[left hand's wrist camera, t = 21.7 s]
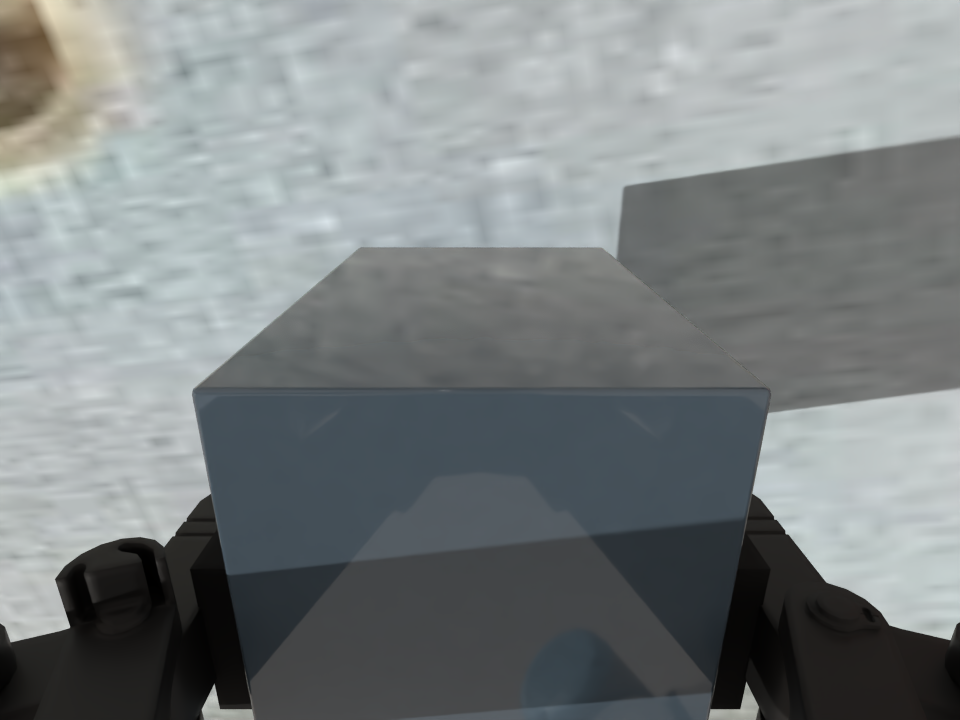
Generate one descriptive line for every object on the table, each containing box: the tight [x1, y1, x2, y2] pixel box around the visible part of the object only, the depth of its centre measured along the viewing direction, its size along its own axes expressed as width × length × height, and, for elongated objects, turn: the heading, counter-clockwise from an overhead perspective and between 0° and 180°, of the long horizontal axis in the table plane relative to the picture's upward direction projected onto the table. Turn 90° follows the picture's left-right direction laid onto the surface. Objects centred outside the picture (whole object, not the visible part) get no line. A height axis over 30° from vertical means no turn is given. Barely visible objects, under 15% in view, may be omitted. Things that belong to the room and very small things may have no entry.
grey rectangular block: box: [192, 247, 771, 720], centre depth 13 cm, size 7×9×10 cm
